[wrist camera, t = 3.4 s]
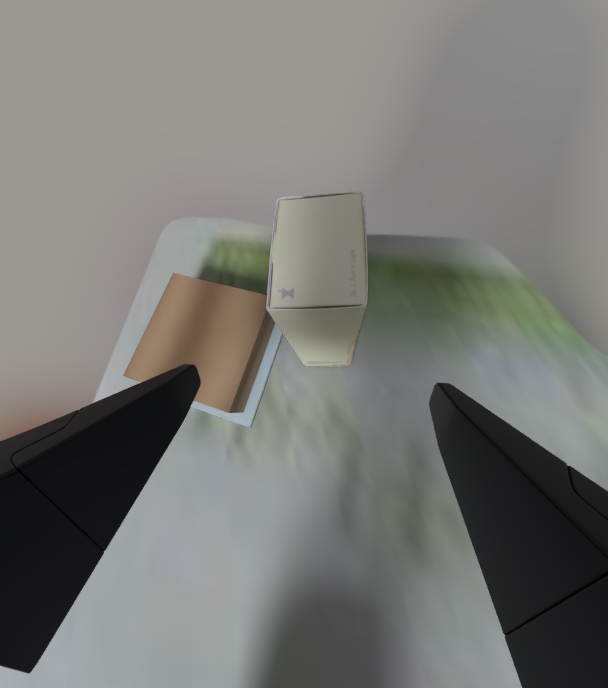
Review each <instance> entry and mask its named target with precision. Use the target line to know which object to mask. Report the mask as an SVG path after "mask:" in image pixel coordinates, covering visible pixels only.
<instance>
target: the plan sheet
mask: <svg viewBox="0 0 608 688" xmlns="http://www.w3.org/2000/svg"><path fill="white" fill-rule="evenodd" d="M282 335H283V333H282V332H281V330H280V328H279V327H278V325H277V324H276V323H275V325H274V328H273V331H272V333H271V336H270V339H269V342H268V345H267V348H266V350H265V353H264V356H263V359H262V362H261V365H260V367H259V370H258V373H257V376H256V379H255V381H254V384H253V387H252V390H251V393H250V396H249V398H248V401H247V404H246V407H245V410H244V412H243V413H227V412H224V411H221V410H219V409H216V408H213V407H210V406H207V405H204V404H202V403H199V402H196V401H193V403H192V405H191V407H193V408H196V409H199V410H202V411H204V412H207V413H210V414H213V415H216V416H218V417H221V418H224V419H227V420H230V421H232V422H235V423H238V424H241V425H244V426H246V427H249V428H251V426H252V423H253V420H254V417H255V414H256V411H257V408H258V406H259V403H260V400H261V397H262V394H263V391H264V388H265V385H266V382H267V379H268V376H269V373H270V370H271V368H272V365H273V362H274V359H275V356H276V353H277V350H278V347H279V344H280V341H281V338H282ZM139 383H141V382H139Z"/></svg>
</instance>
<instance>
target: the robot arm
mask: <svg viewBox="0 0 608 688" xmlns="http://www.w3.org/2000/svg"><path fill="white" fill-rule="evenodd" d="M200 385H201V380H200V376H199V373H198V370H197V367H196V366H195V365H194V364H183V365H181V366H178V367H176V368H174V369H171V370H169V371H167V372H164V373H162V374H160V375H157V376H155V377H153V378H150V379H148V380H146V381H144V382H141V383H139V384H137V385H134V386H132V387H130V388H127V389H125V390H123V391H120V392H118V393H116V394H113V395H111V396H109V397H107V398H104V399H102V400H100V401H97V402H95V403H93V404H90V405H88V406H86V407H83V408H81V409H80V410H76V411H74V412H72V413H69V414H67V415H65V416H62V417H60V418H58V419H55V420H53V421H51V422H48V423H46V424H43V425H41V426H38V427H36V428H34V429H31V430H28V431H26V432H23V433H21V434H18V435H16V436H13V437H11V438H8V439H6V440H3V441H0V666H3V667H6V668H10V669H14V670H17V671H21V672H25V673H28V674H29V673H30V672H31V671H32V670H33V668H34V667H35V665H36V664H37V663H38V661H39V659H40V658H41V656H42V655H43V653H44V651H45V650H46V648H47V646H48V645H49V643H50V641H51V640H52V638H53V636H54V635H55V633H56V631H57V630H58V628H59V627H60V625H61V623H62V622H63V620H64V618H65V617H66V615H67V613H68V612H69V610H70V608H71V607H72V605H73V603H74V602H75V600H76V598H77V597H78V595H79V593H80V592H81V590H82V588H83V587H84V585H85V583H86V582H87V580H88V579H89V577H90V575H91V574H92V572H93V570H94V569H95V567H96V565H97V564H98V562H99V560H100V559H101V557H102V555H103V554H104V551H105V550H106V548H107V547H108V545H109V544H110V542H111V540H112V539H113V537H114V535H115V534H116V532H117V530H118V529H119V527H120V525H121V524H122V522H123V520H124V519H125V517H126V515H127V514H128V512H129V510H130V509H131V507H132V506H133V504H134V502H135V501H136V499H137V497H138V496H139V494H140V492H141V491H142V489H143V487H144V486H145V484H146V482H147V481H148V479H149V477H150V476H151V474H152V472H153V471H154V469H155V468H156V466H157V464H158V463H159V461H160V459H161V458H162V456H163V454H164V453H165V451H166V449H167V448H168V446H169V444H170V443H171V441H172V439H173V438H174V436H175V434H176V433H177V431H178V430H179V428H180V426H181V425H182V423H183V421H184V419H185V417H186V415H187V413H188V411H189V409H190V407H191V405H192V403H193V401H194V399H195V397H196V394H197V392H198V390H199V388H200ZM429 406H430V411H431V415H432V420H433V424H434V429H435V433H436V438H437V442H438V446H439V450H440V453H441V456H442V459H443V461H444V464H445V467H446V470H447V473H448V476H449V479H450V481H451V484H452V487H453V490H454V493H455V496H456V499H457V501H458V504H459V507H460V510H461V513H462V516H463V519H464V521H465V524H466V527H467V530H468V533H469V536H470V539H471V542H472V544H473V547H474V550H475V553H476V556H477V559H478V562H479V564H480V567H481V570H482V573H483V576H484V579H485V582H486V584H487V587H488V590H489V593H490V596H491V599H492V602H493V604H494V607H495V610H496V613H497V616H498V619H499V622H500V624H501V627H502V630H503V633H504V635H506V636H505V639H506V642H507V645H508V648H509V651H510V654H511V657H512V659H513V662H514V665H515V668H516V671H517V674H518V677H519V680H520V682H521V685H522V688H608V491H606V490H605V489H603V488H602V487H600V486H599V485H597V484H596V483H594V482H593V481H591V480H590V479H588V478H587V477H586V476H584V475H583V474H581V473H580V472H578V471H577V470H575V469H574V468H572V467H571V466H567V464H566V463H565V462H564V461H562V460H561V459H559V458H558V457H556V456H555V455H553V454H552V453H550V452H549V451H548V450H546V449H545V448H543V447H542V446H540V445H539V444H537V443H536V442H534V441H533V440H531V439H530V438H529V437H527V436H526V435H524V434H523V433H521V432H520V431H518V430H517V429H515V428H514V427H512V426H511V425H510V424H508V423H507V422H505V421H504V420H502V419H501V418H499V417H498V416H496V415H495V414H494V413H492V412H491V411H489V410H488V409H486V408H485V407H483V406H482V405H480V404H479V403H477V402H476V401H475V400H473V399H472V398H470V397H469V396H467V395H466V394H464V393H463V392H461V391H460V390H458V389H457V388H456V387H454V386H453V385H451V384H449V383H436V384H435V386H434V389H433V392H432V395H431V398H430V402H429Z"/></svg>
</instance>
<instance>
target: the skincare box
mask: <svg viewBox="0 0 608 688" xmlns="http://www.w3.org/2000/svg"><path fill="white" fill-rule="evenodd" d="M365 218H366V217H365V203H364V194H363V193H362V192H348V193H335V194H319V195H306V196H291V197H281V198H279V199H277V201H276V208H275V216H274V225H273V233H272V242H271V251H270V264H269V277H268V290H267V303H266V309H267V311H268V312H269V314H270V315H271V317H272V318H273V320H274V321H275V323H276V324H277V325H278V327H279V328H280V330H281V332H282V333H283V335H284V336H285V337H286V339H287V340H288V342H289V343H290V345H291V346H292V348H293V349H294V351H295V352H296V354H297V355H298V357H299V358H300V360H301V361H302V363H303V364H304V365H306V366H350V365H351V362H352V358H353V354H354V350H355V346H356V342H357V338H358V334H359V331H360V327H361V323H362V319H363V316H364V313H365V310H366V307H367V298H368V259H367V235H366V219H365Z"/></svg>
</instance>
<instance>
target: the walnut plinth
mask: <svg viewBox="0 0 608 688" xmlns="http://www.w3.org/2000/svg"><path fill="white" fill-rule="evenodd" d="M266 303H267V295H265V294H261V293H256V292H252V291H248V290H243V289H239V288H235V287H231V286H226V285H222V284H218V283H214V282H209V281H205V280H201V279H196V278H192V277H188V276H184V275H179V274H175V273H173V274H172V276H171V278H170V281H169V283H168V285H167V287H166V289H165V291H164V293H163V295H162V297H161V299H160V301H159V303H158V305H157V307H156V309H155V311H154V313H153V315H152V318H151V320H150V322H149V324H148V326H147V328H146V330H145V332H144V334H143V336H142V338H141V340H140V342H139V344H138V346H137V348H136V350H135V352H134V354H133V357H132V359H131V361H130V363H129V365H128V367H127V369H126V371H125V373H124V375H123V376H125V377H128V378H130V379H133V380H136V381H139V382H144V381H146V380H148V379H150V378H153V377H155V376H157V375H160V374H162V373H164V372H167V371H169V370H171V369H174V368H176V367H178V366H181V365H183V364H194V365H195V366H196V367H197V370H198V373H199V376H200V380H201V385H200V388H199V390H198V392H197V394H196V397H195V399H194V401H196V402H199V403H202V404H204V405H207V406H210V407H213V408H216V409H219V410H221V411H224V412H227V413H243V412H244V410H245V407H246V404H247V401H248V398H249V396H250V393H251V390H252V387H253V384H254V381H255V379H256V376H257V373H258V370H259V367H260V365H261V362H262V359H263V356H264V353H265V350H266V348H267V345H268V342H269V339H270V336H271V333H272V331H273V328H274V325H275V321H274V320H273V318H272V317H271V315H270V314H269V312H268V311H267V309H266Z"/></svg>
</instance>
